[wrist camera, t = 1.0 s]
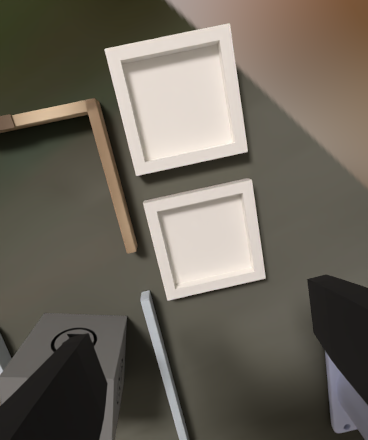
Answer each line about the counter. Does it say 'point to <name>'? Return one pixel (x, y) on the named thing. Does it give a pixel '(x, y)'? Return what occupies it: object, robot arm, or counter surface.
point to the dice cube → (55, 336)
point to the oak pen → (103, 144)
